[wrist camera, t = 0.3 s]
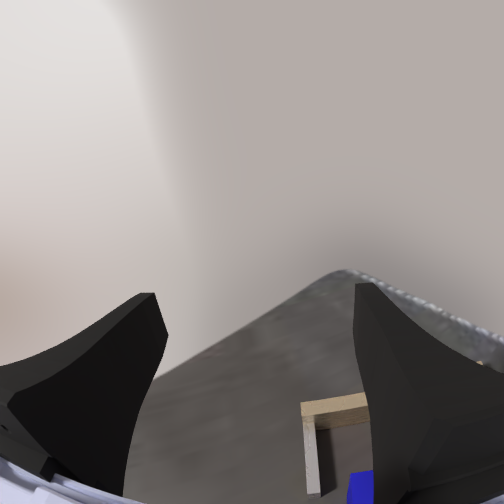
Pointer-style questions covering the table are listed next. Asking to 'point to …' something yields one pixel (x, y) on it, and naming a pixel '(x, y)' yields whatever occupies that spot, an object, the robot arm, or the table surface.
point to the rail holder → (328, 427)
